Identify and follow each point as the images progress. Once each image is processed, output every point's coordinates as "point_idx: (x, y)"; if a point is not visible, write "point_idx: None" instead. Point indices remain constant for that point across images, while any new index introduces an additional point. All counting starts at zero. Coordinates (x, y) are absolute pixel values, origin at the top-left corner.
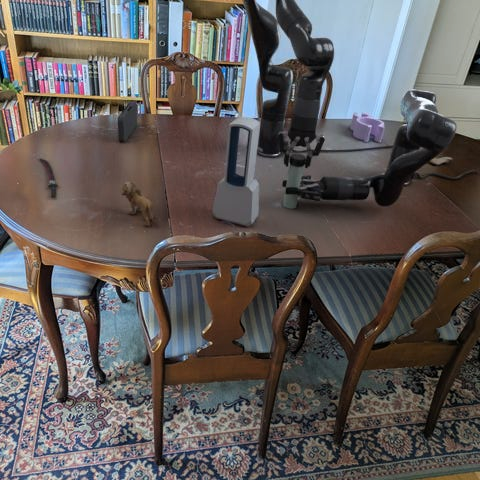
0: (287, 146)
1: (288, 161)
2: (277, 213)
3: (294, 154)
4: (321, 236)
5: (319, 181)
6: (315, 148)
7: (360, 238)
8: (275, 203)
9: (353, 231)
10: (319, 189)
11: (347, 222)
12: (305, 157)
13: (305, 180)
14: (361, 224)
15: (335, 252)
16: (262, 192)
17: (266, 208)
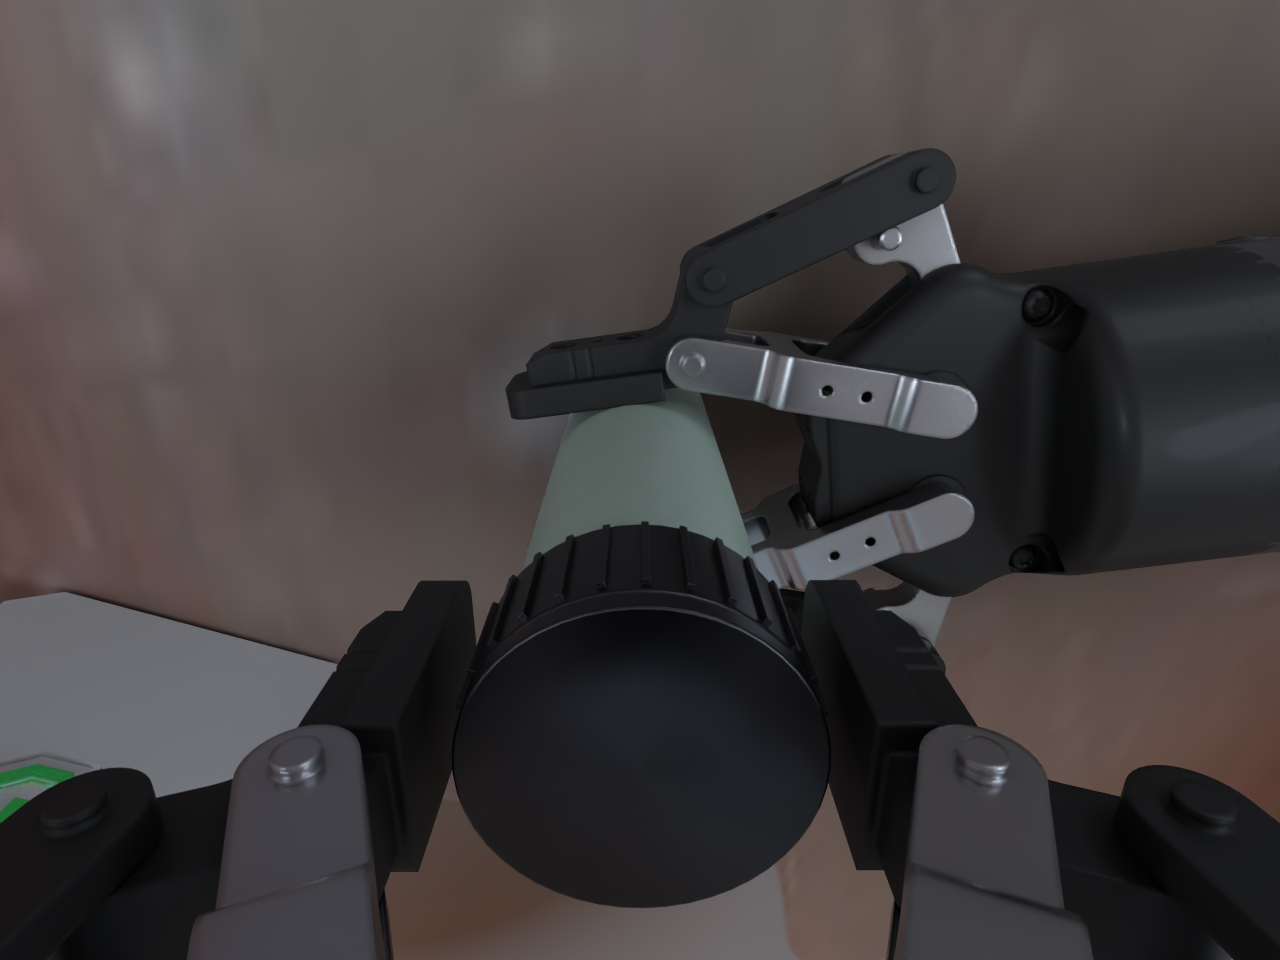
0: (224, 904)
1: (446, 766)
2: (522, 564)
3: (552, 683)
4: (829, 804)
5: (1032, 340)
6: (1228, 951)
7: (1109, 790)
8: (502, 392)
9: (1096, 719)
10: (958, 567)
11: (1103, 607)
12: (821, 781)
13: (818, 405)
14: (1214, 618)
15: (876, 936)
16: (352, 165)
17: (423, 499)
